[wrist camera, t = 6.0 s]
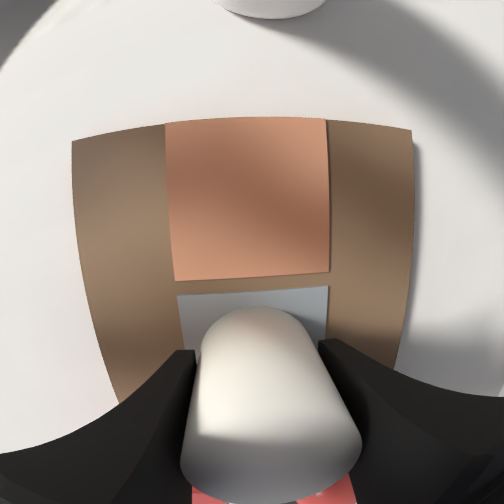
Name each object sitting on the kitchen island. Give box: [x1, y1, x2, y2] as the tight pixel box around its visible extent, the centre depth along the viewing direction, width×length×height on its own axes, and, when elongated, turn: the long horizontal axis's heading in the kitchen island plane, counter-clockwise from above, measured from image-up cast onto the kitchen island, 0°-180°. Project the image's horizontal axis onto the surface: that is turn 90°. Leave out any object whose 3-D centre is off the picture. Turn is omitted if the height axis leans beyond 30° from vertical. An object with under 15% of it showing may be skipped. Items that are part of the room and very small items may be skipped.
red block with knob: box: [192, 486, 229, 504], centre depth 9 cm, size 3×3×4 cm
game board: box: [72, 117, 415, 404], centre depth 10 cm, size 17×12×1 cm
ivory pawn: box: [180, 306, 362, 504], centre depth 7 cm, size 4×4×5 cm
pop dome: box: [296, 473, 357, 504], centre depth 9 cm, size 4×4×3 cm
